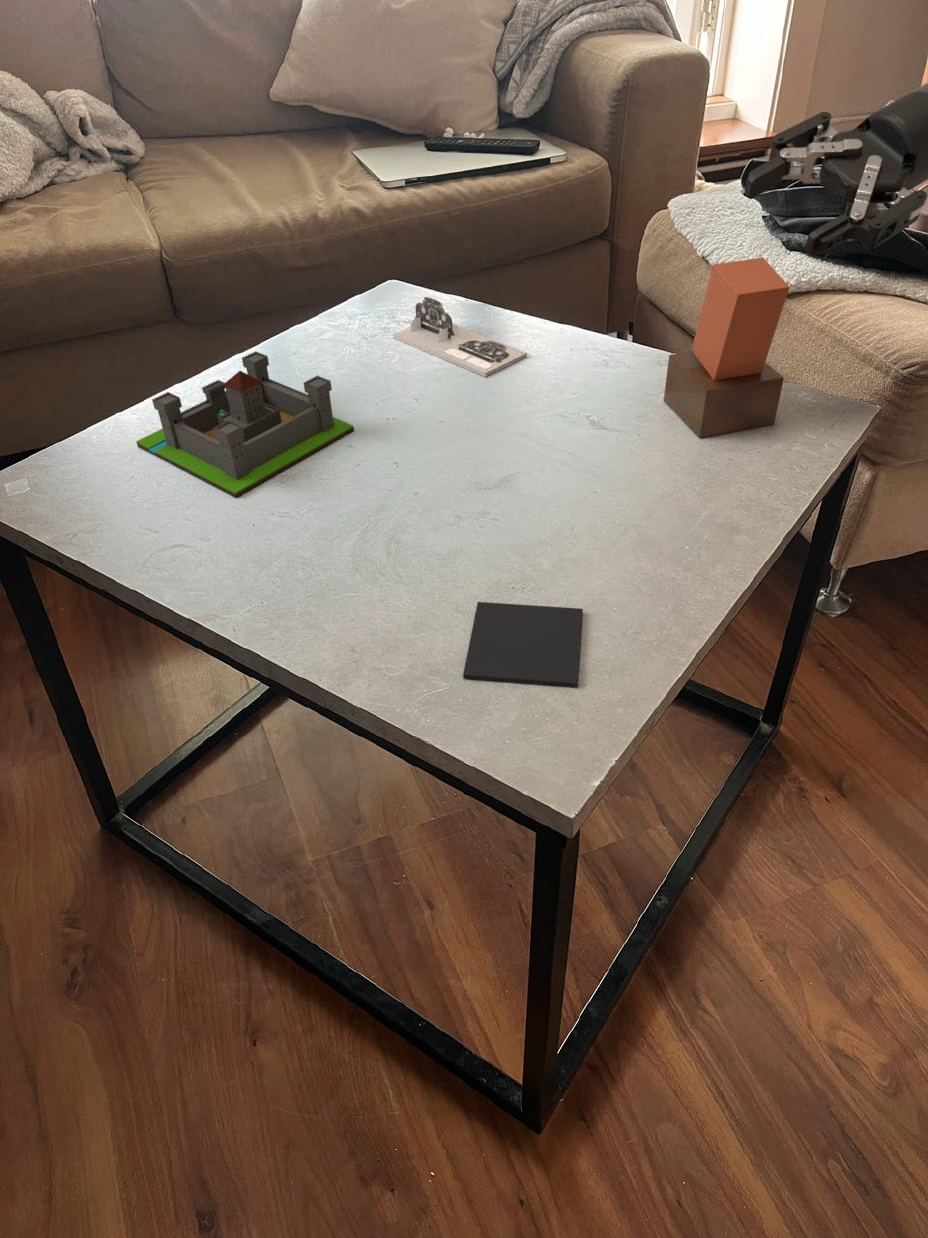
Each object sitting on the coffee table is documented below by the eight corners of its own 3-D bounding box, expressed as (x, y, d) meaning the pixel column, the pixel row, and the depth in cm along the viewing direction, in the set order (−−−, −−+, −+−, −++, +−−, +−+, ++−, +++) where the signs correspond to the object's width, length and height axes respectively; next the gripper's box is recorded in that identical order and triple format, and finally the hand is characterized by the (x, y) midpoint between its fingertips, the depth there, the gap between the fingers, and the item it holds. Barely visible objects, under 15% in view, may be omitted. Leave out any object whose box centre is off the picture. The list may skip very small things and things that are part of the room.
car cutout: (393, 337, 108) (389, 300, 105) (434, 319, 111) (432, 282, 108) (485, 377, 100) (484, 337, 97) (527, 356, 103) (527, 317, 100)
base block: (734, 388, 96) (742, 342, 93) (774, 424, 90) (784, 377, 87) (663, 400, 94) (668, 354, 91) (699, 438, 89) (706, 390, 85)
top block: (737, 342, 91) (763, 256, 84) (761, 372, 88) (790, 286, 81) (691, 349, 90) (712, 264, 83) (713, 380, 87) (738, 294, 80)
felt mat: (582, 612, 70) (582, 608, 70) (577, 687, 64) (577, 683, 64) (477, 605, 71) (477, 601, 71) (463, 678, 65) (463, 674, 65)
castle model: (236, 497, 83) (219, 424, 78) (137, 446, 91) (116, 376, 86) (354, 430, 92) (345, 360, 87) (255, 388, 99) (241, 321, 94)
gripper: (882, 53, 83) (733, 135, 82) (998, 140, 78) (841, 231, 76) (860, 126, 90) (723, 204, 89) (966, 211, 84) (821, 296, 83)
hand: (777, 216), depth 82 cm, fingers open, 8 cm apart
